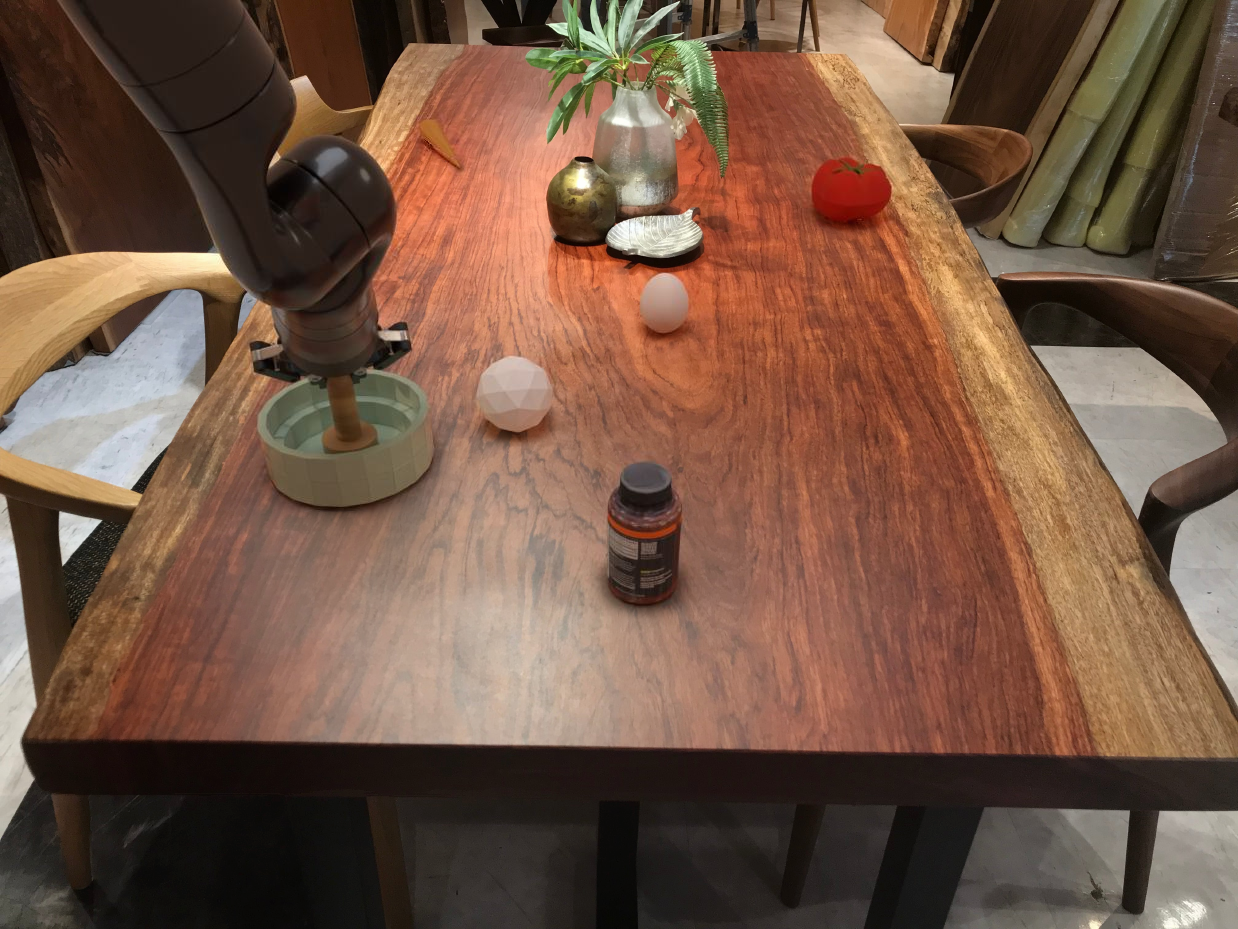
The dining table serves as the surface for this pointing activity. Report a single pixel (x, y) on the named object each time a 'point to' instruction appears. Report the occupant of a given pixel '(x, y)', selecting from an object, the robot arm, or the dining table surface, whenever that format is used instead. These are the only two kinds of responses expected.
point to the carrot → (437, 138)
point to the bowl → (352, 476)
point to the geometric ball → (514, 393)
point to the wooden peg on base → (346, 420)
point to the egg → (664, 303)
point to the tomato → (850, 190)
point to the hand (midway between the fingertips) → (337, 376)
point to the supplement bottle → (643, 534)
